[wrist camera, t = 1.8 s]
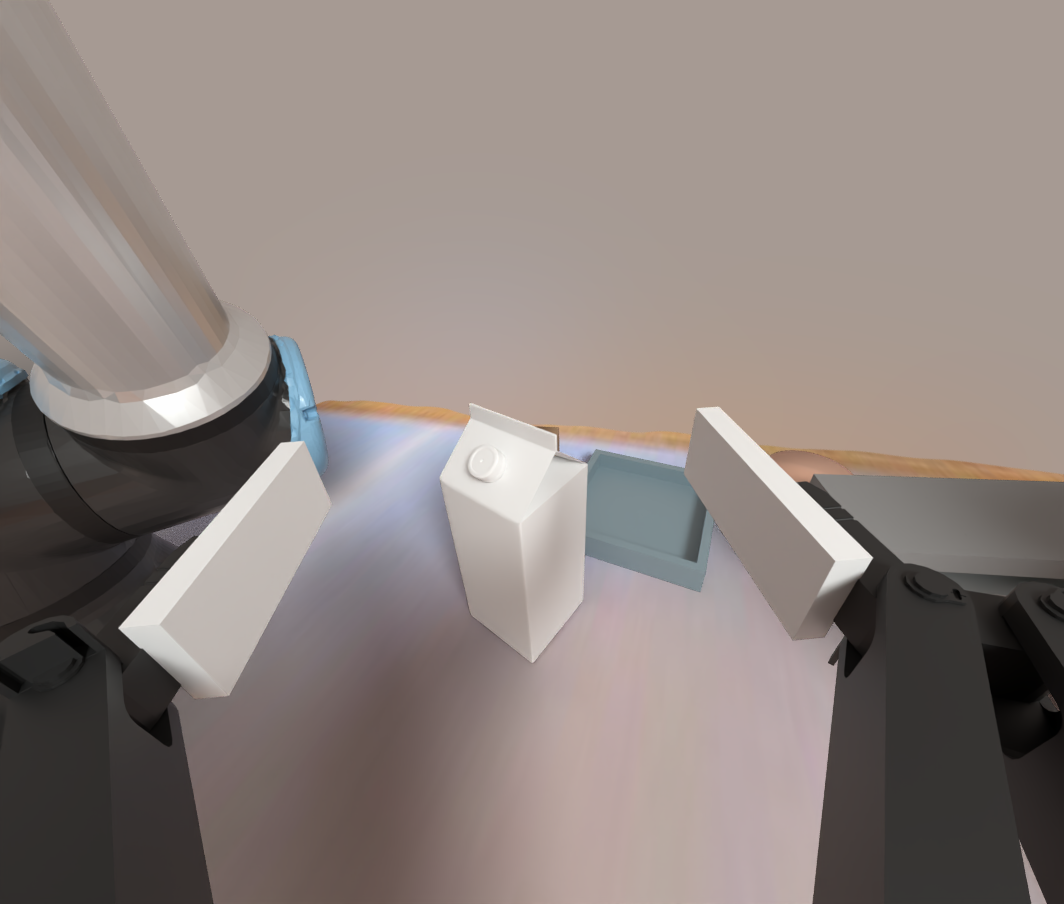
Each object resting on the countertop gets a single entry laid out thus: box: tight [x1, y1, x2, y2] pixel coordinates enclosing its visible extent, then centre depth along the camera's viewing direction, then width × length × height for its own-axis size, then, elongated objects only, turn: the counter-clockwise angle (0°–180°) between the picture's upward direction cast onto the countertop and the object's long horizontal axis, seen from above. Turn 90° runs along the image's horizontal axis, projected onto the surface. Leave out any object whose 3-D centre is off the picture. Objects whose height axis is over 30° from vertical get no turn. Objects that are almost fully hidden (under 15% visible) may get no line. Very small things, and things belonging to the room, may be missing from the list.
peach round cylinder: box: [770, 450, 853, 483], centre depth 38 cm, size 7×7×8 cm
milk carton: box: [440, 403, 588, 663], centre depth 29 cm, size 7×7×19 cm
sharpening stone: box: [810, 474, 1064, 597], centre depth 29 cm, size 25×8×11 cm, turn 83°
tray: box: [585, 449, 714, 592], centre depth 43 cm, size 15×15×3 cm
